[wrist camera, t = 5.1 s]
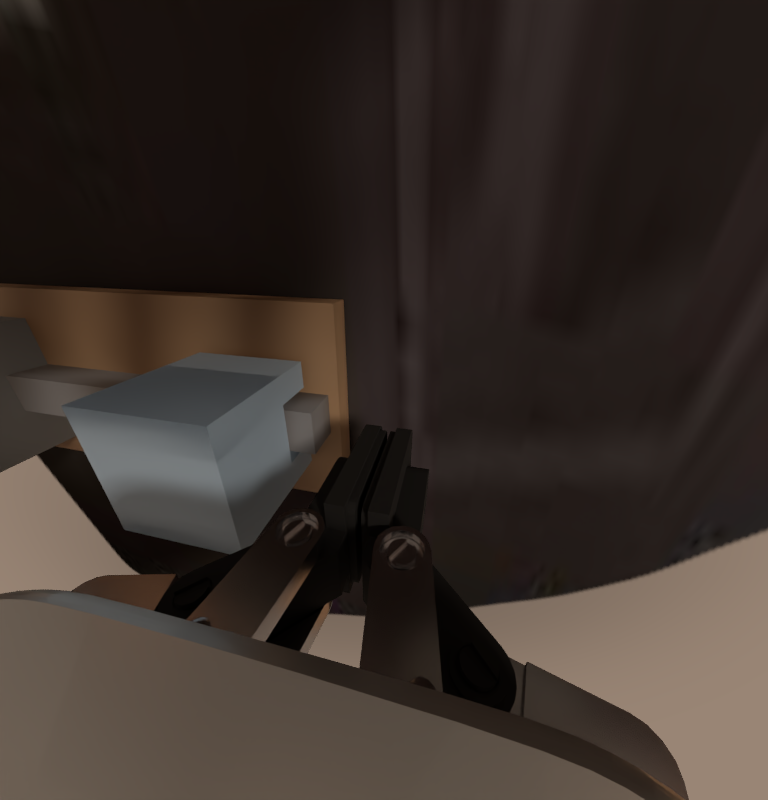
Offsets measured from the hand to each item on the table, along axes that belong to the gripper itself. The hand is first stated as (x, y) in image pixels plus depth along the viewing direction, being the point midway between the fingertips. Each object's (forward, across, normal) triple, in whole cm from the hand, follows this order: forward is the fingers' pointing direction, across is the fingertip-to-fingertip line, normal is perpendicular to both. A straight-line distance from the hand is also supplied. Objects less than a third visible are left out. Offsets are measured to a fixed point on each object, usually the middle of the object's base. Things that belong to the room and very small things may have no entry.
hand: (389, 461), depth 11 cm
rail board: (+4, +13, 0) cm, 13 cm away
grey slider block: (+2, +7, 0) cm, 7 cm away
